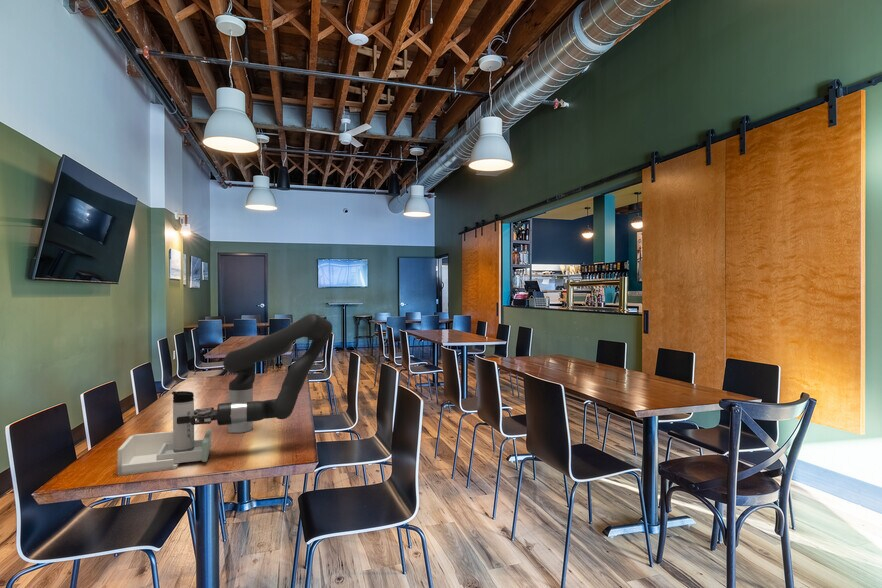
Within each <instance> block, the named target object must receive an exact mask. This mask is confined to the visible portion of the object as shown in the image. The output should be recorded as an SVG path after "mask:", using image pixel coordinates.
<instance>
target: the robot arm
mask: <svg viewBox="0 0 882 588" xmlns="http://www.w3.org/2000/svg"><path fill="white" fill-rule="evenodd" d="M332 332H333V324H332V323H331V321H330V320H328V319H326V318H324V317H322V316H320V315H318V314H315V313H309V314H306V315H305V316H303V317H301V318H299V319H298V320H297V321H295V322H293V323H292V324H289V325H288V326H286V327H284V328H282V329H280V330H278V331H275V332H273V333H271V334H269V335H266V336H265V337H263V338H261V339H258V340H256V341H255V342H253V343H251V344H250V345H247V346H245V347H242V348H239V349H235V350H231V351H229V352H228V353H227V354H225V356H224V358H223V368H224V369H225V370H226V371H227V372H228V373H231V374H237V375H236V376H235V378H233V379H232V380H231V381H230V382H229V383H228V402H222V403H220V402H219V403H218V404H217V407H216V408H217V409H215V407H206V408H196V409H194V415H191V416H184V417H177V424H185V423H190V424H191V425H194V426H195V425H196V426H197V425H205V424H206V425H209V424H212V422H213V421H216V422H217V423H216V424H217V426H228V428H227V431H228V433H229V434H231V433H232V434H241V433H246V432H250V431H252V430H253V429H254V422H260V421H262V420H266V419H278V420H285V419H287V418H289V417H290V416H291V415H292V413H293V411H294V409H295V405H296V403H297V401H298V397H299V393H300V392H301V391H302V389H303V386H304V383H305V381H306V379H307V377H308V374H309V372H310V370H311V368H313V367H312V366H313V365H314V363H315V362H316V360H317V359H318V357H319V356H320V354H321V352H322V350H324V347H325V346H326V344H327V343H328V341H329V339H330V337H331V335H332ZM302 338H307V339H309V340H311V343H310V345H309V347H308V348H307V350H306V351H305V352H304V353H303V354H302V355H301V356H300V357H299V358H298V359H297V360H295V361H294V362H293V363H292V364H291V366H290V367H289V369H288V370H287V372H286V375H285V377H284V380H283V382H282V385H281V389H280V391H279V393H278V395H277V397H276V398H272V399H266V400H254V383H255V380H256V363H260V362H265V361H268V360H272V359H275V358H278V357H280V356H282V355H285V354H286V353H288V352H289V351H290V349H291V348H292V346H293V343H294V342H295V341H296V340H299V339H302Z"/></svg>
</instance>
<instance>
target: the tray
mask: <svg viewBox="0 0 882 588" xmlns="http://www.w3.org/2000/svg"><path fill="white" fill-rule="evenodd" d="M211 449H212V429H211V428H210V429H209V428H208V429H206V431H205V434H204V436H203V438H202V439H194V449H193V450H192V451H186V452H177V453H174V452H173V442H172V443H164V444H163V446H162V447H161V449H160V451H159V452H158V454H157V455H156V461H158V460H166V459H174V463H179V464H180V463H190V462H198V461H201V462H202V463H204V462H205V463H206V462H207V461H208V458H209V455H210V451H211Z"/></svg>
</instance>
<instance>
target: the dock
mask: <svg viewBox="0 0 882 588" xmlns="http://www.w3.org/2000/svg"><path fill="white" fill-rule="evenodd" d="M172 442H173V430H172V431H160V432H150V433H137V434H131V435H129V437H128V438H127V439H126V440H125V441H124V442H123V443H122V445H120V447H119V448H118V449H117V470H116V471H117V472H116V473H117V477H119V476H130V475H136V474H137V475H138V474H144V473H153V472H163V471H170V470H176V469H178V467H179V465H180V463H174V459H166V460H158V461H156V455H157V454H158V452H159V451H160V449H161V447H162V446H163V444H164V443H172Z"/></svg>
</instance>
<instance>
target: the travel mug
mask: <svg viewBox="0 0 882 588" xmlns="http://www.w3.org/2000/svg"><path fill="white" fill-rule="evenodd" d="M171 395H172V431H173V452H174V453H177V452H186V451H192V450H193V449H194V440H195V425H191V424H190V423H185V424H177V417H184V416H191V415H194V410H195V399H194V397H195V396H194V395H195V394H194V392H193V391H187V390H186V391H183V390H182V391H176V390H175V391H172V392H171Z"/></svg>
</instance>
